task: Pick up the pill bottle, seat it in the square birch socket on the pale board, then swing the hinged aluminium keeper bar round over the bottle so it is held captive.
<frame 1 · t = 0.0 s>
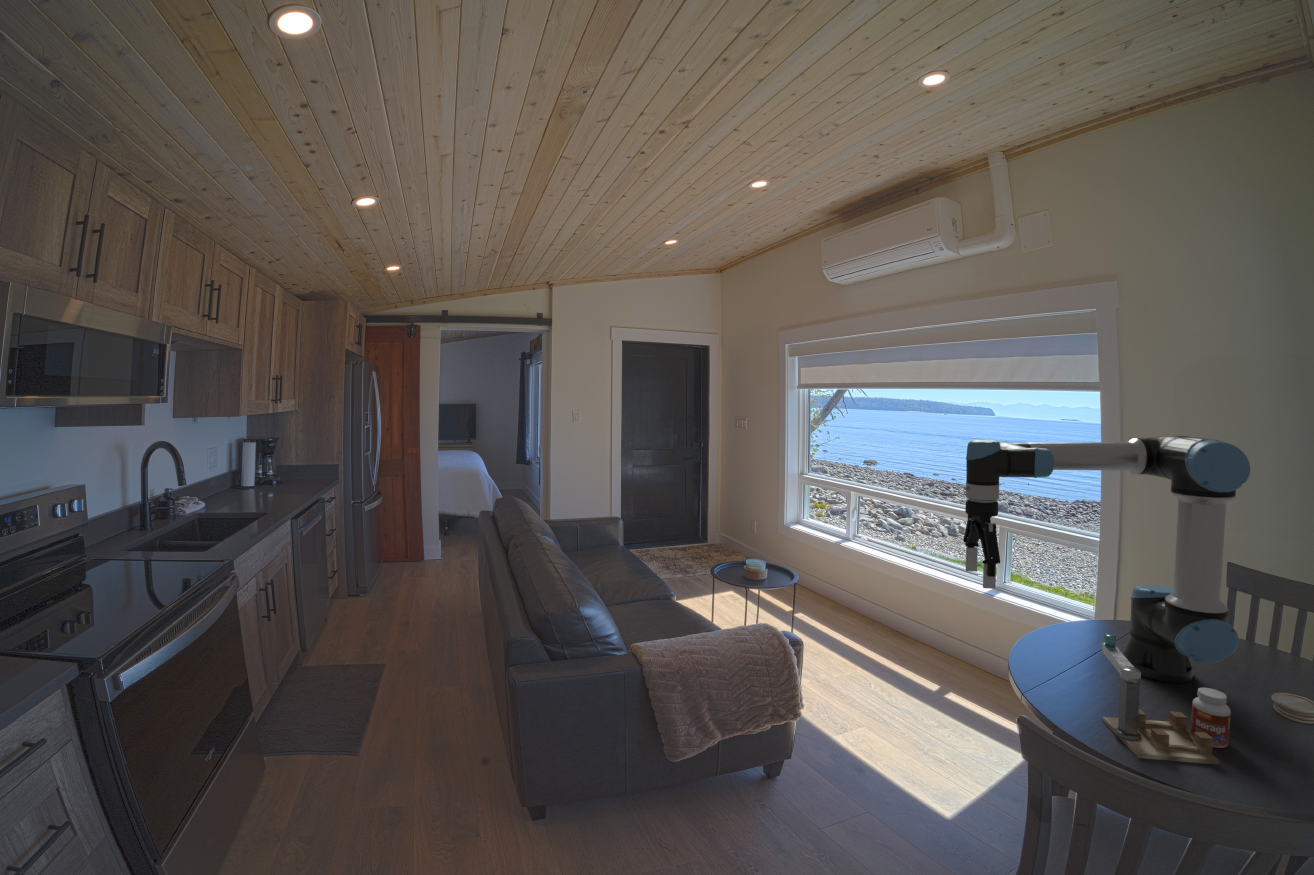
hand: (979, 579, 156), 28 cm above the table, fingers open, 13 cm apart
socket board: (1156, 741, 131), on the table
pill bottle: (1208, 741, 131), on the table
keeper bar: (1120, 657, 136), point 16 cm above the table, hinge at 80.0°
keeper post: (1127, 739, 132), resting on socket board
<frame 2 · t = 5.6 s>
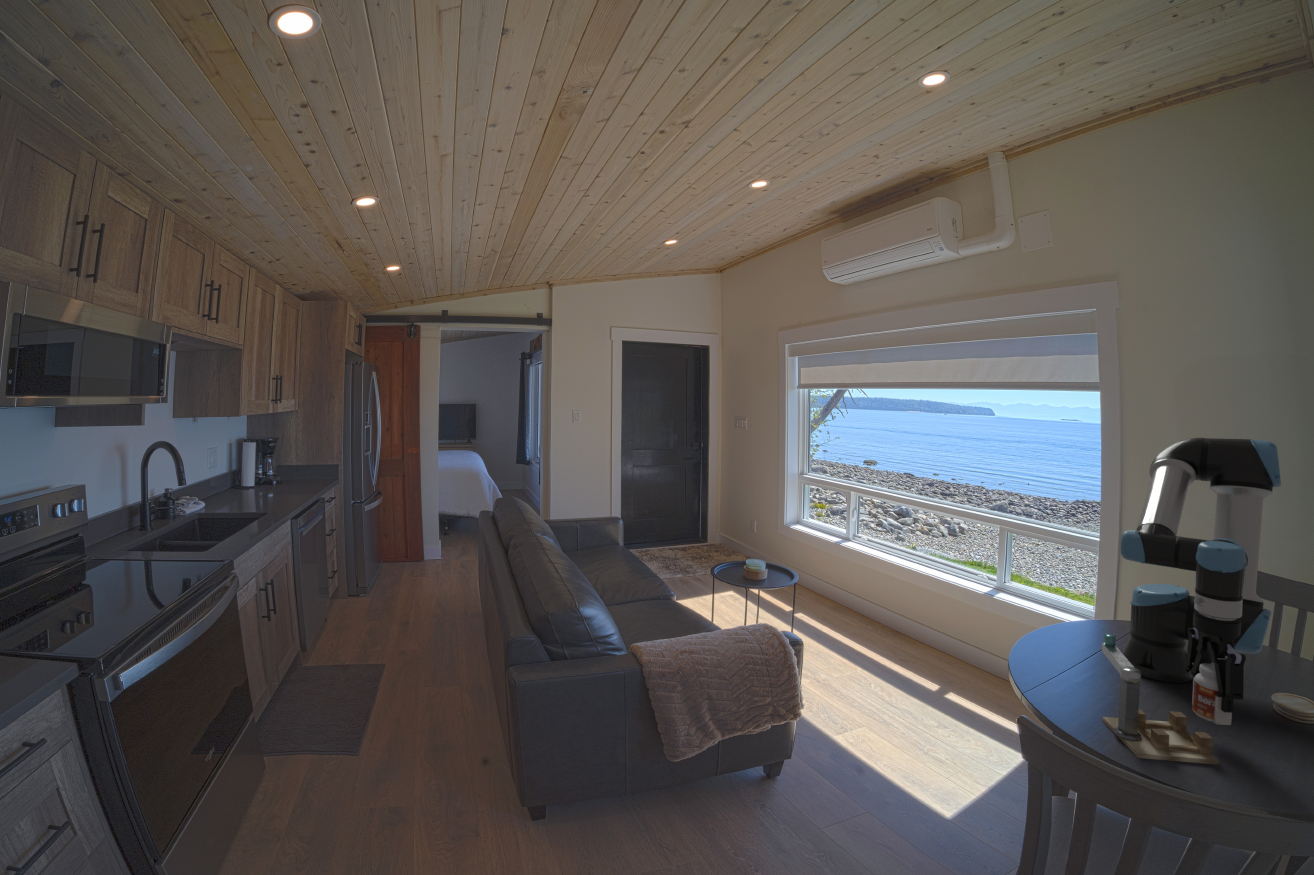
hand: (1210, 714, 131), 6 cm above the table, fingers closed on pill bottle, 6 cm apart
pill bottle: (1211, 716, 131), point 5 cm above the table, touching gripper
everything else where it was.
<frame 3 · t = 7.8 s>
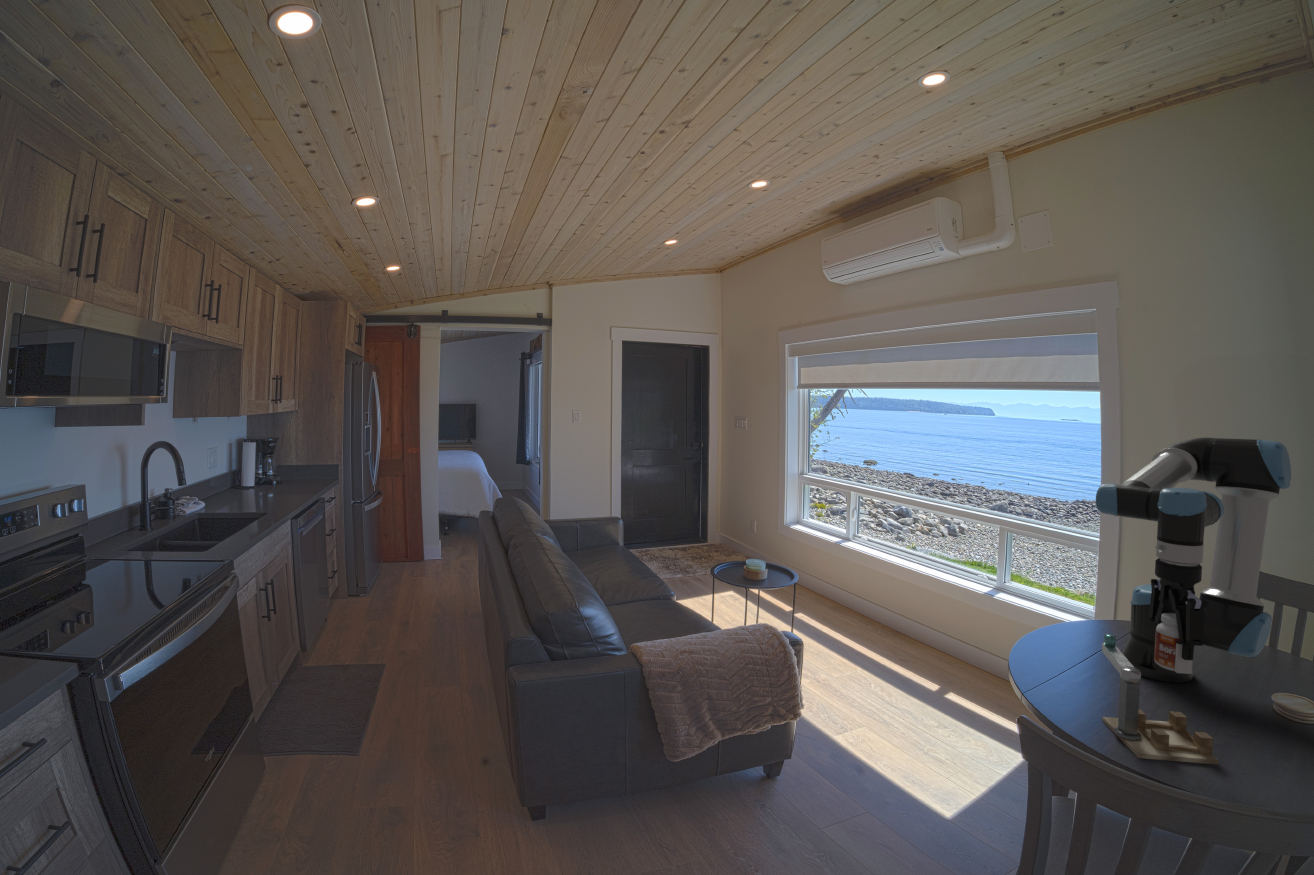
hand: (1172, 664, 129), 18 cm above the table, fingers closed on pill bottle, 6 cm apart
pill bottle: (1172, 667, 129), point 17 cm above the table, touching gripper
everything else where it was.
when the fingers open (3 cm above the table, at t = 10.2 s): pill bottle drops 1 cm, resting on socket board.
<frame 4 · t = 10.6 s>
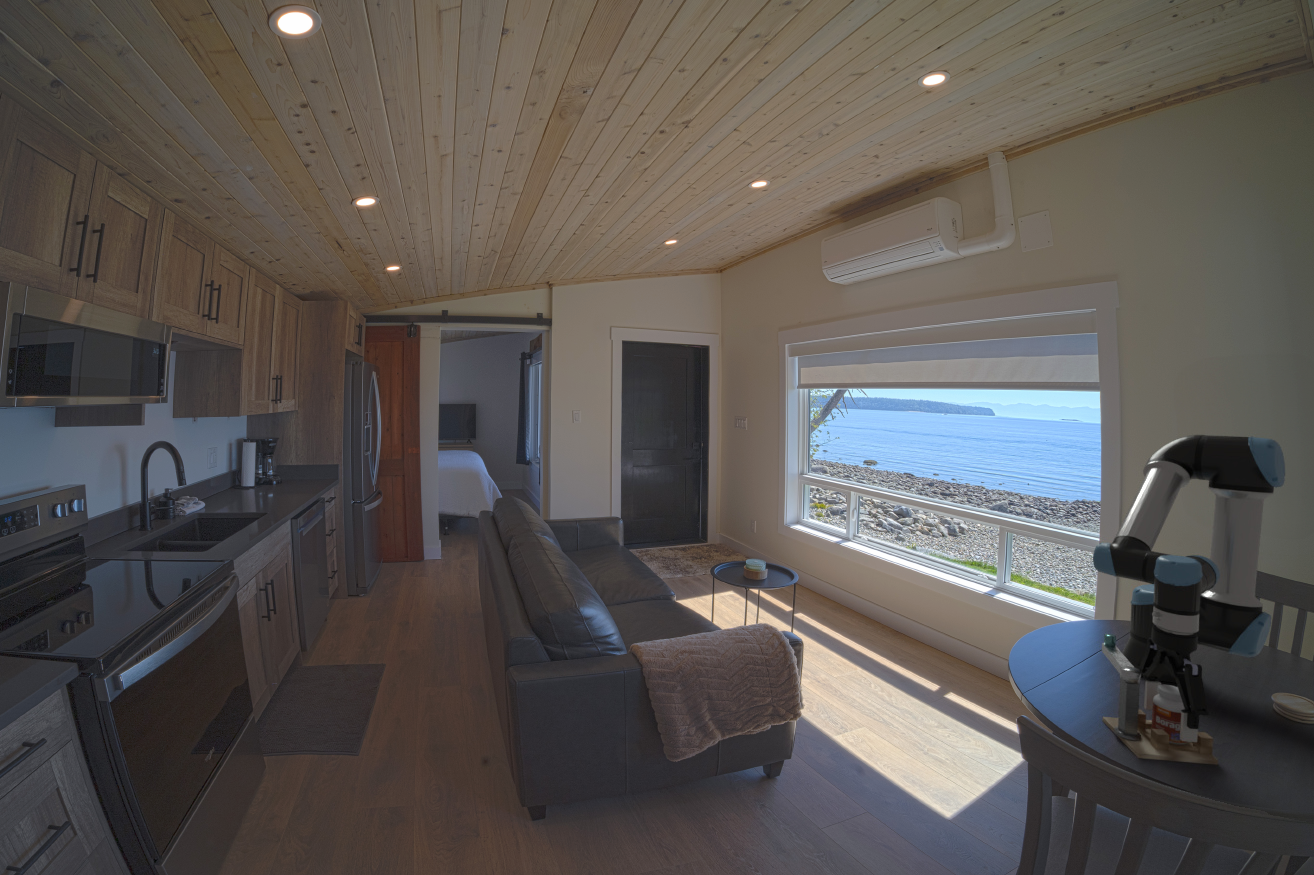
hand: (1169, 724, 130), 4 cm above the table, fingers open, 11 cm apart
pill bottle: (1169, 738, 130), point 1 cm above the table, touching socket board
everything else where it was.
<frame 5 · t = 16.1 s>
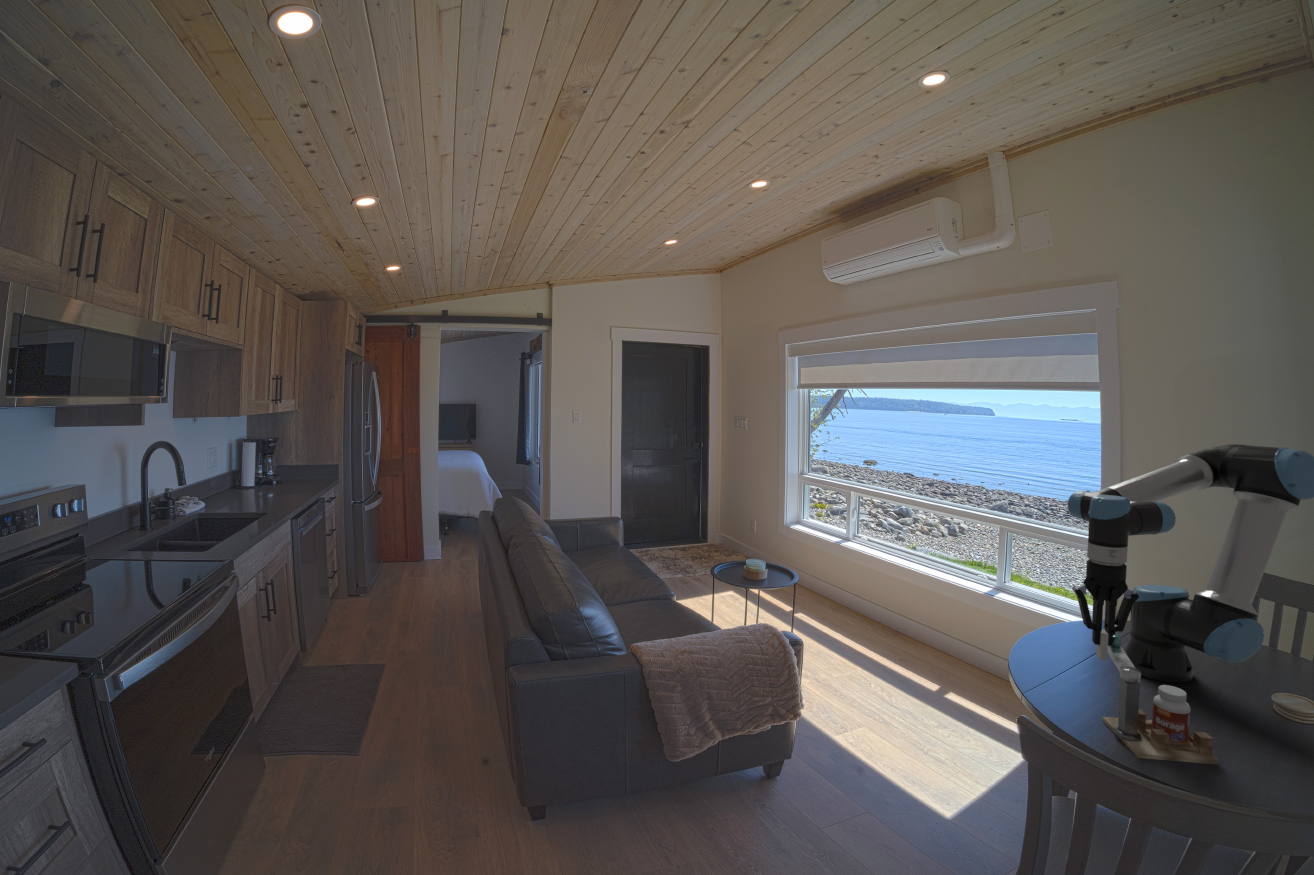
hand: (1101, 657, 142), 13 cm above the table, fingers closed
keeper bar: (1122, 657, 136), point 16 cm above the table, hinge at 75.5°, touching gripper
everything else where it was.
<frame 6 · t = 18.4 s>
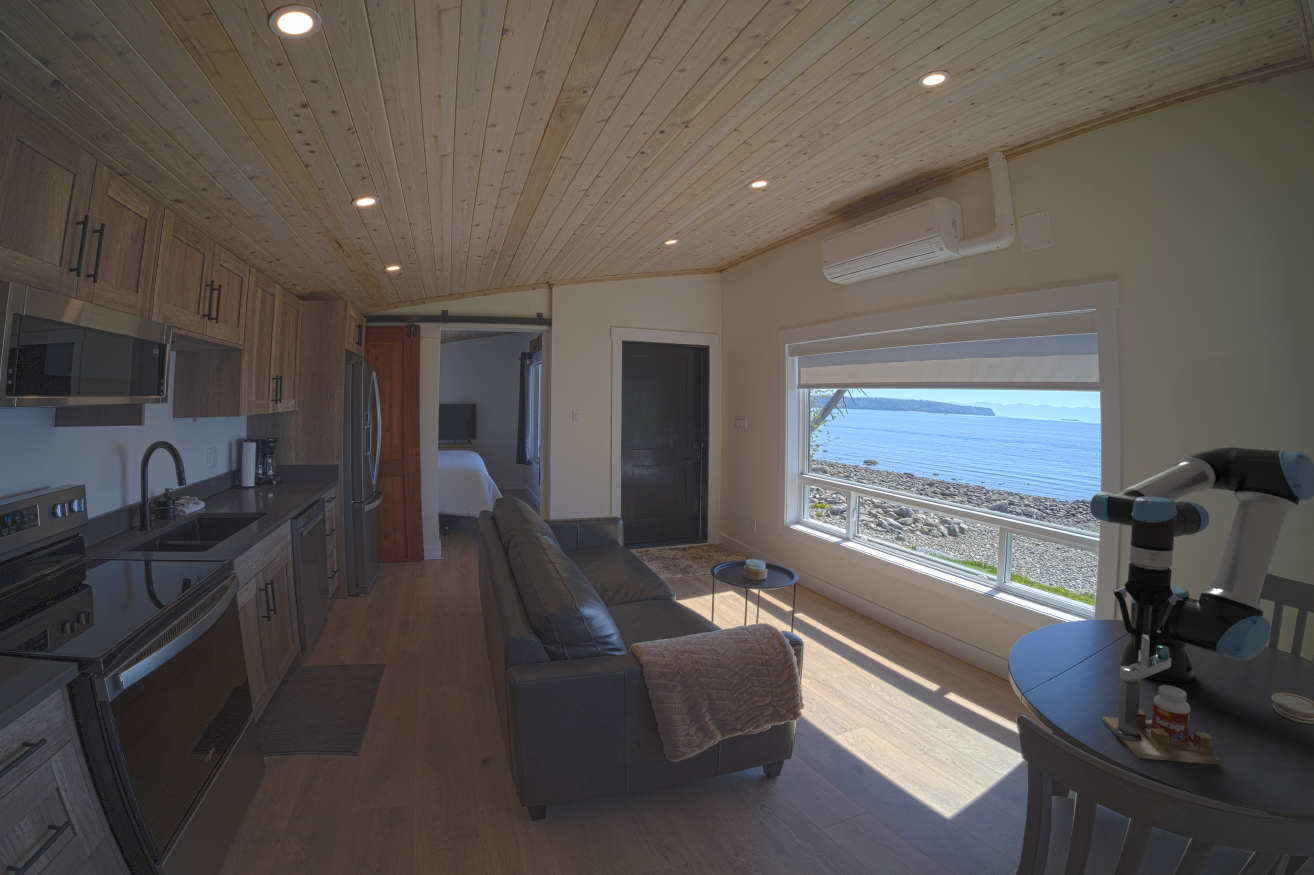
hand: (1143, 663, 138), 14 cm above the table, fingers closed
keeper bar: (1146, 663, 133), point 16 cm above the table, hinge at 36.2°, touching gripper
everything else where it was.
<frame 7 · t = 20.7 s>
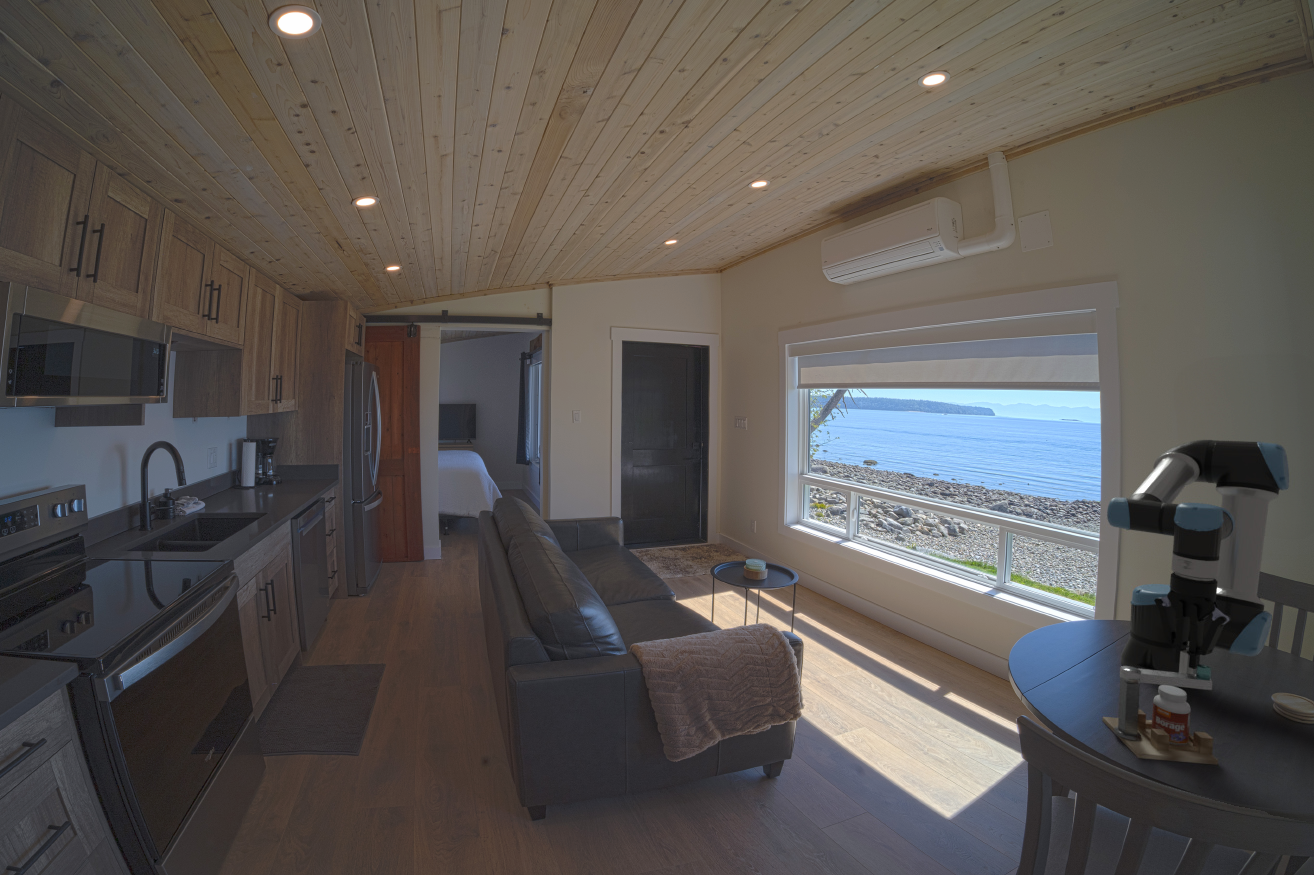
hand: (1185, 679, 130), 14 cm above the table, fingers closed
keeper bar: (1164, 672, 129), point 16 cm above the table, hinge at -6.8°, touching gripper
everything else where it was.
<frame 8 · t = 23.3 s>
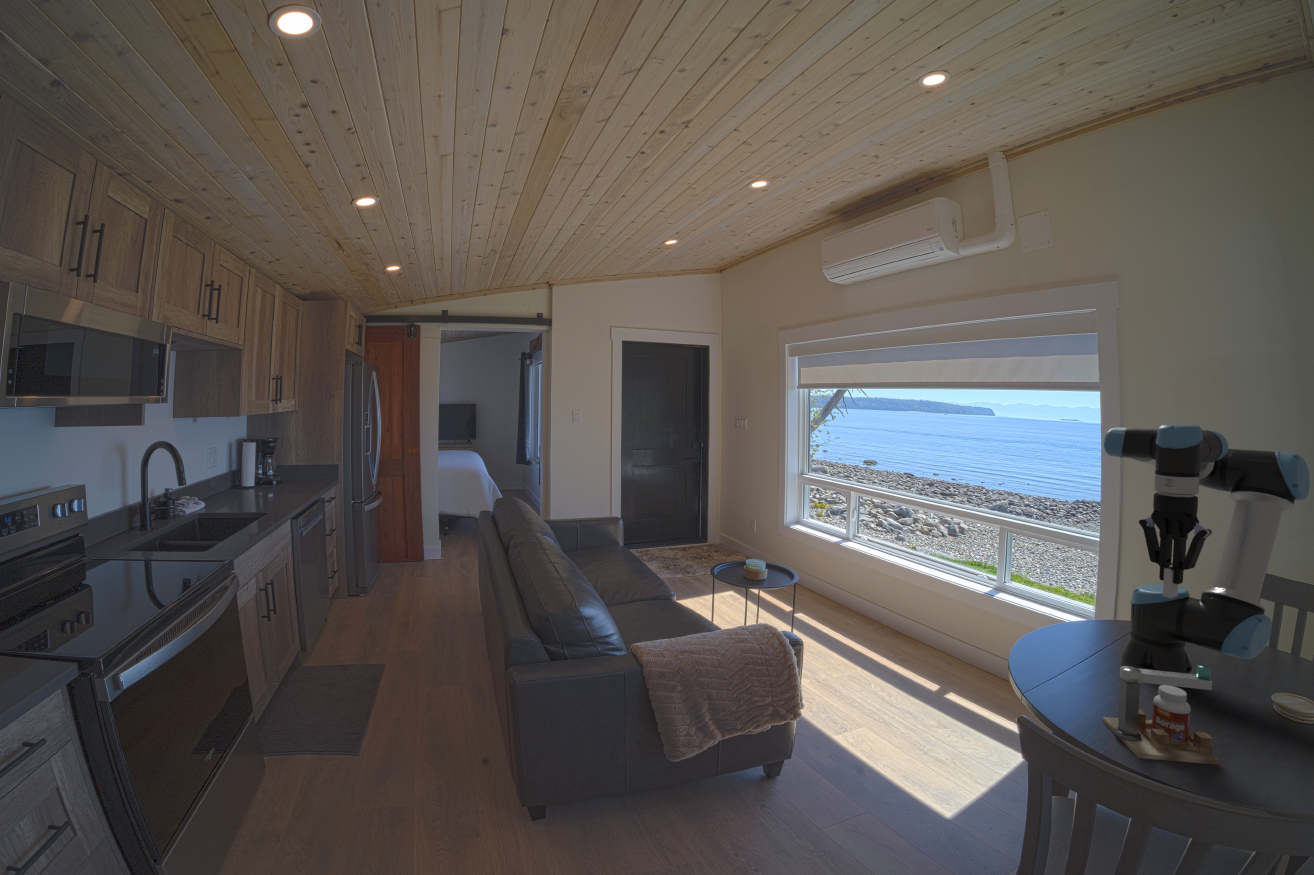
hand: (1170, 595, 135), 30 cm above the table, fingers closed
keeper bar: (1164, 672, 129), point 16 cm above the table, hinge at -6.9°
everything else where it was.
at the end: pill bottle 0.2 cm from the target spot, point 0.8 cm above the table; pill bottle tilted 0°; keeper bar at -7° (first picture: +80°) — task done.
